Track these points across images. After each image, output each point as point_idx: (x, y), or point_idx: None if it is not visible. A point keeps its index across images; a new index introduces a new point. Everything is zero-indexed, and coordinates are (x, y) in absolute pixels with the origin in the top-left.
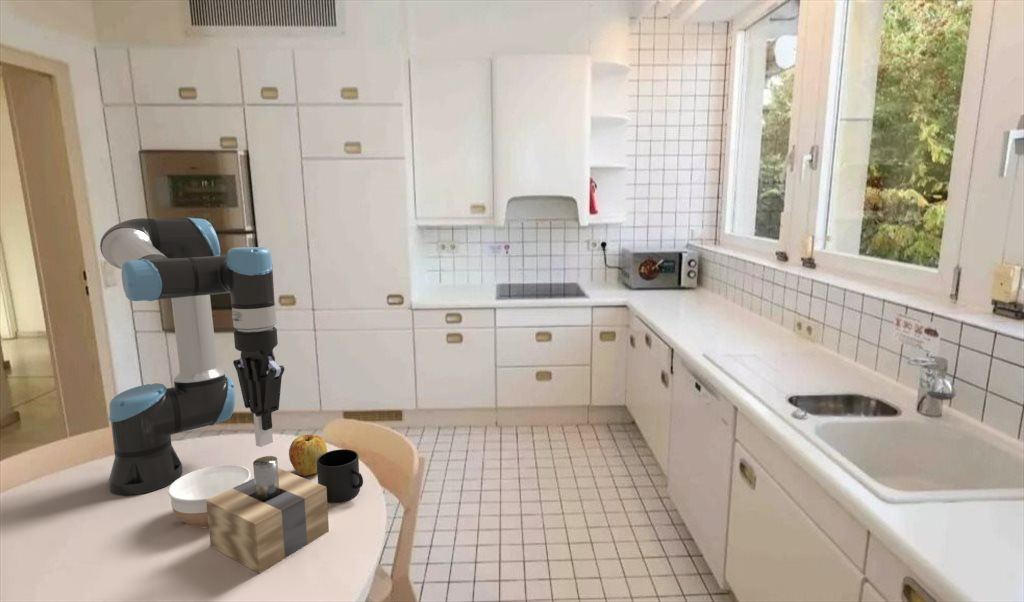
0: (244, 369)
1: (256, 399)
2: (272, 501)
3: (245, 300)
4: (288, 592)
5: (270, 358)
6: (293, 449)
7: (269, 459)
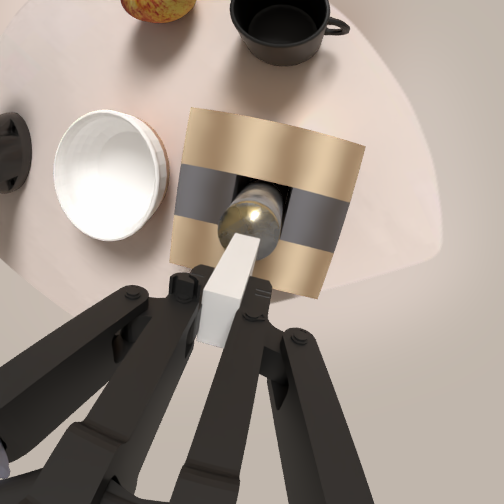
0: (9, 442)
1: (177, 371)
2: (293, 231)
3: None
4: (371, 276)
5: None
6: (139, 11)
7: (251, 221)
